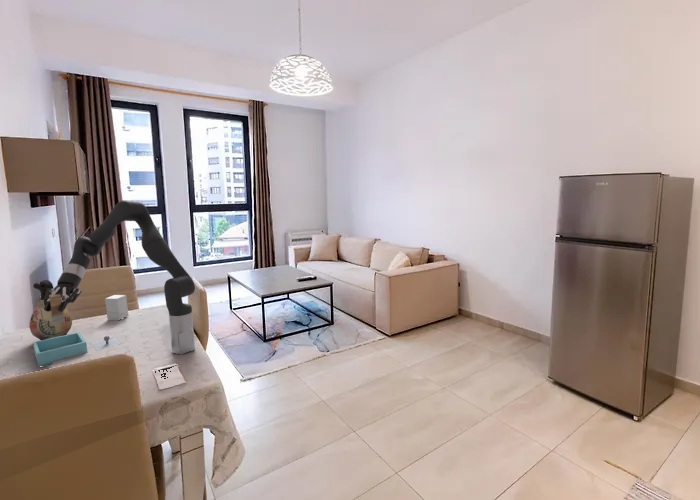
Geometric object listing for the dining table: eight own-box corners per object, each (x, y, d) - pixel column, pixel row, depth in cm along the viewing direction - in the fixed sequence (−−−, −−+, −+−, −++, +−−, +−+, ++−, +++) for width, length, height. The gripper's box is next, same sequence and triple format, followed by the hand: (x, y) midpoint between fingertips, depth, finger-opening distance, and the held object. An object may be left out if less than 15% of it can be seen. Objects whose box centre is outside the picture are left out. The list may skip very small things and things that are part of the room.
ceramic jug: (25, 342, 165) (16, 280, 160) (64, 331, 178) (56, 273, 174) (43, 350, 157) (33, 284, 152) (82, 337, 171) (74, 277, 166)
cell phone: (159, 391, 124) (159, 389, 124) (152, 371, 139) (152, 369, 139) (186, 384, 130) (186, 381, 129) (176, 365, 144) (176, 362, 144)
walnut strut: (65, 322, 150) (61, 295, 148) (53, 324, 147) (49, 297, 146) (64, 320, 153) (60, 293, 151) (52, 322, 150) (48, 295, 148)
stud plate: (123, 346, 160) (122, 336, 160) (96, 353, 153) (95, 342, 153) (117, 340, 167) (116, 330, 166) (92, 346, 160) (90, 336, 159)
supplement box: (129, 316, 200) (126, 294, 198) (119, 320, 193) (117, 298, 191) (117, 315, 201) (114, 294, 199) (106, 320, 194) (104, 298, 192)
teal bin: (87, 355, 152) (86, 342, 151) (38, 368, 141) (36, 353, 140) (81, 344, 163) (79, 331, 162) (35, 355, 152) (33, 342, 151)
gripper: (50, 271, 154) (29, 306, 144) (83, 271, 154) (64, 306, 144) (61, 280, 160) (42, 314, 150) (93, 280, 160) (75, 314, 150)
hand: (53, 310), depth 147 cm, fingers closed on walnut strut, 5 cm apart
